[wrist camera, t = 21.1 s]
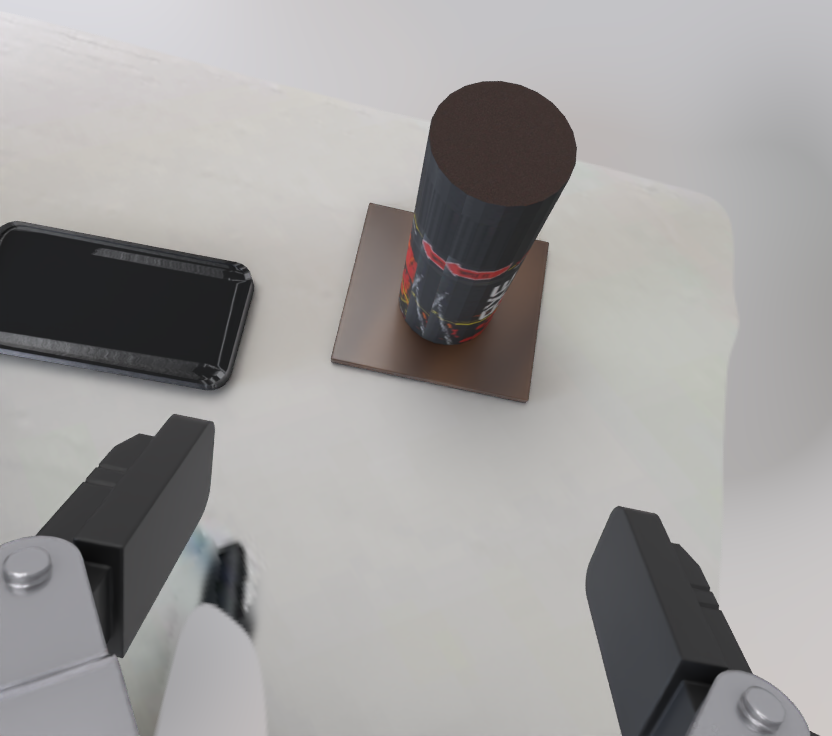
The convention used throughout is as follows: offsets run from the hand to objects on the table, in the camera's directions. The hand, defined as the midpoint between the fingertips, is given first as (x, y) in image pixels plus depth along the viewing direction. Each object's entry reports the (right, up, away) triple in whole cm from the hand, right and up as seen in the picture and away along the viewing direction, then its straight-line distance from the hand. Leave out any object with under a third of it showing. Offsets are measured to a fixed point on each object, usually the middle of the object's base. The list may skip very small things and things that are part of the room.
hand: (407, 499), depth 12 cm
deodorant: (+2, +7, +27) cm, 27 cm away
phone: (-17, +6, +25) cm, 31 cm away
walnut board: (+2, +7, +27) cm, 28 cm away
